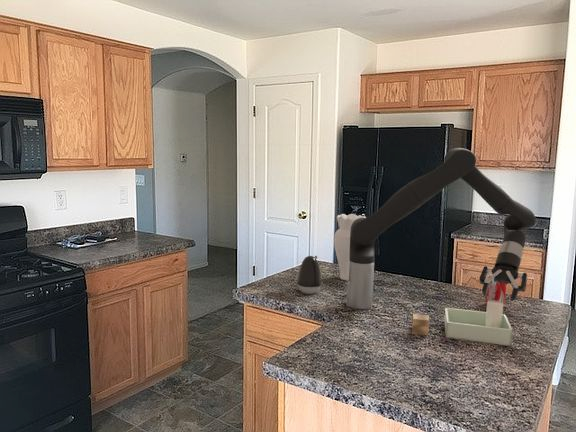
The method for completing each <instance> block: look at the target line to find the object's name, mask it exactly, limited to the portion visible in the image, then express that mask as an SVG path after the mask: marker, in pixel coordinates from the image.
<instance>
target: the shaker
mask: <svg viewBox="0 0 576 432" xmlns="http://www.w3.org/2000/svg"><path fill="white" fill-rule="evenodd" d="M485 312H486V319H485V326H486V327H494V328H501V321H502V314H504V313H503V312H504V305H503V303H502V302H499V301H494V300H489V301H487V303H486V311H485Z"/></svg>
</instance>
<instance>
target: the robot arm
mask: <svg viewBox="0 0 576 432" xmlns="http://www.w3.org/2000/svg"><path fill="white" fill-rule="evenodd" d="M476 163H477V157H476V155H475V153H474V152H473V151H471V150H469V149H467V148H463V147H462V148H461V147H455V148H450V150H447V152H446V153H445V155H444V158H443V162H442V163H441V164H440V165H439V166H437V168H435V169H434V170H432V171H430V172H428V173H426V174H424V175H421V176H419V177H417V178H415V179H413V180H412V181H409V182H408V183H407V184H405V185H404V186H403V187H401V188H400V189H398V190H397V191H396V192H395V193H393V195H391V196H390V198H389V199H388V200H387V201H386V202H385V203H384V204H383V205H382V206H381V207H380V208H379V209H378V210H376V211H375V212H373V213H372V214H370V215H368V216H367V217H366V218H359V219H357V220H355V221H354V222H353V223H352V225H351V230H350V257H349V279H348V281H347V284H346V302H345V303H346V305H345V306H346V307H349V308H352V309H355V310H368V309H371V308H372V307H373V306H372V305H373V293H374V291H373V290H374V274H375V273H374V272H375V271H374V270H375V256H376V255H375V242H376V241H375V240H376V239H378V237H380V236H381V234H383V233H384V232H385V231H386V230H387V229H388V228H390V227H391V226H392V225H394V224H396V223H398V222H400V220H403V219H404V218H406V217H407V216H408V215H410V214H411V213H413V212H414V211H417V209H419V208H420V207H422V205H424V204H425V203H427V202H428V201H429V200H430V199H432V198H434V197H435V196H436V195H438V194H439V193H440V192H441V191H442V190H444V189H445V188H446V187H448V186H450V185H451V184H452V183H455V182H456V181H458V180H460V179H461V180H462V181H464V182H465V183H466V184H468V186H470V187H471V188H472V189H473V190H474V192H476V193H477V194H478V195H479V197H481V198H482V199H483V200H484V201H485V203H486V204H488V205H489V207H491V208H492V210H494V211H495V212H496V213H497V214H499V215H501V216H504V215H506V217H505V218H504V220H503V236H504V237H503V238H502V239H503V240H502V243H501V245H500V247H499V249H498V253H497V256H496V259H495V262H494V266H493V268H489V267H488V266H486V265H485V266H483V268H482V271H481V274H480V276H479V277H478V279H479V284H481V285H483V286H482V289H481V291H482V294H483V296H485V297H486V295H487V292H488V288H489V286H490V285H491V284H494V283H495V282H498V283H505V284H507V285H511V287H512V291H511V295H510V301H511V302H514V301H515V300H517V298H518V295H519V292H522V293H524V292H525V291H526V289H527V284H528V283H527V282H528V273H527V272H523V273H519V270H520V265H521V262H522V259H523V254H524V253H523V252H524V249H525V244H526V235H525V233H524V230H526V229H530V228H532V227H534V226H535V225H536V223H537V219H536V216H535V214H534V212H533V211H532V209H530V208H528V207H527V206H525V205H523V204H521V202H518V201H517V200H514V199H513V198H512V197H511V196H510V195H509V194H508V193H507V192H506V191H505V190H504V189H503V188H502V187H500V185H498V184H497V183H495V182H494V181H493V180H491V178H489V177H488V176H487V175H485V174H484V173H483V172H482V171H481V170H480V169H479V168H478V167H477V166H476ZM522 231H523V232H522ZM491 273H492V275H491V276H490V277H489V274H491ZM487 276H488V277H489V278H488V277H487ZM487 278H488V279H487ZM517 279H519V280H520V281H521V282H520V285H519V284H518V283H517V282H516V280H517Z"/></svg>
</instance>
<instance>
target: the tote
mask: <svg viewBox="0 0 576 432" xmlns="http://www.w3.org/2000/svg"><path fill="white" fill-rule="evenodd" d="M444 308H445V310H444V318H443V319H444V322H443V323H444V333H445V334H444V335H445V338H446V339H454V340H463V341H470V342H477V343H486V344H494V345H502V346H508V347H511V346H512V343H513V342H512V341H513V334H514V333H513V331H514V330H513V328H512V325H511V324H510V321H509V319H508V318H507V314H505V313H502V321H501V328H494V327H486V326H485V319H486V311H479V310H470V309H461V308H452V307H444Z"/></svg>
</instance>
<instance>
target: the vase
mask: <svg viewBox="0 0 576 432" xmlns="http://www.w3.org/2000/svg"><path fill="white" fill-rule="evenodd" d="M359 218H367V217H366V215H361V214H359V215H357V214H355V213H350V214H348V215H346V213H341V214H337V216H336V221H337V224H338V227H339V228H338V229H337V230H336V232H334V233H335V234H334V238H333V241H334V242H333V243H334V245H333V246H334V249H335V254H336V259H337V263H338V267H339V278H340V279H341V280H343V281H347V282H348V279H349V257H350V230H351V225H352V223H353V222H354V221H355V220H357V219H359Z"/></svg>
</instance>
